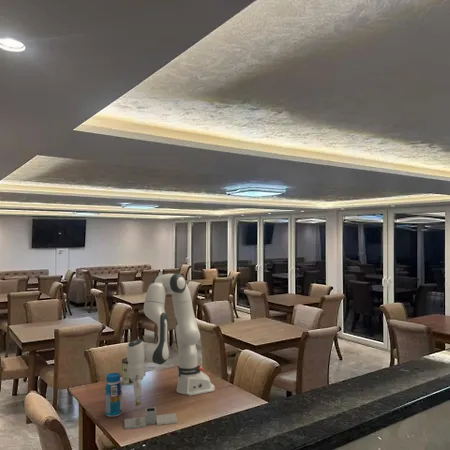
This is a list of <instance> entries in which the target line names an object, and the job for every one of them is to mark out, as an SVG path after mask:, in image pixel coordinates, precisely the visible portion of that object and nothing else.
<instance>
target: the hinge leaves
mask: <svg viewBox="0 0 450 450" xmlns="http://www.w3.org/2000/svg"><path fill="white" fill-rule="evenodd" d="M144 413H145V416H141V417H133V418H124V430H131V429H139V428H140V429H141V428H147V426H150V425H156V426H164V425H171V424H178V423H179V421H178V418H177V413H175V412H174V413H173V412H172V413H167V414H159V415H158V414H157V413H158V412H157V407H156V406H153V407H146V408H144ZM156 423H157V424H156ZM163 424H164V425H163Z"/></svg>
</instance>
